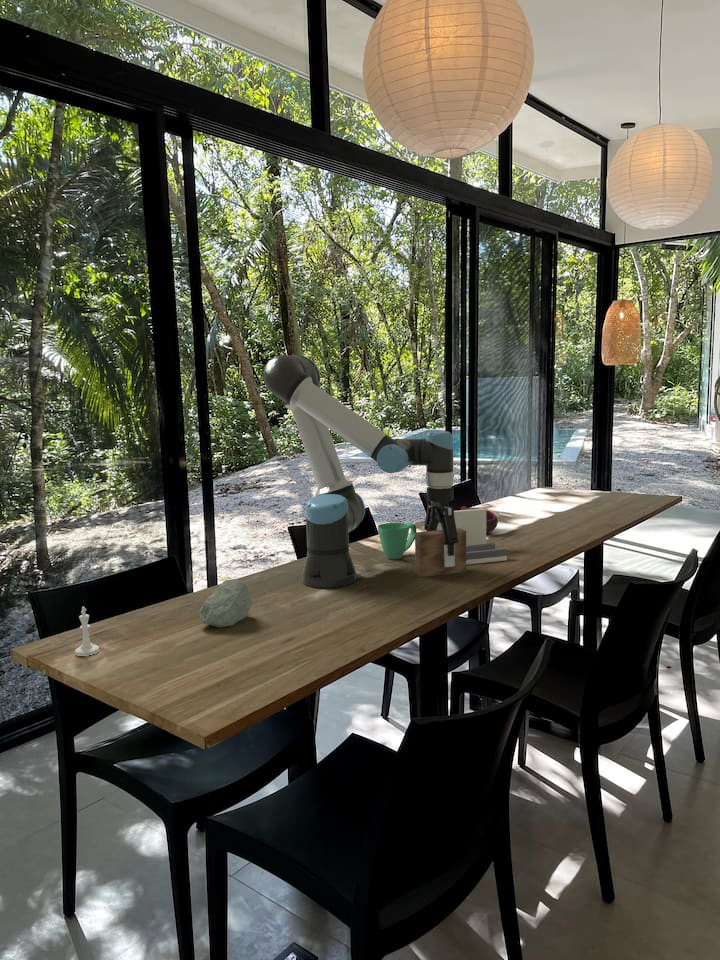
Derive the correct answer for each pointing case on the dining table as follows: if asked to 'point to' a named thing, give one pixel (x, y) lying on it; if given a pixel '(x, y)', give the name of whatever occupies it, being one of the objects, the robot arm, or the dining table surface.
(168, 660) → the dining table surface
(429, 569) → the door slab
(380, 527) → the mug
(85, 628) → the chess piece
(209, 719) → the dining table surface
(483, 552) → the track sill
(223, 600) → the decorative stone
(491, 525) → the bowl
